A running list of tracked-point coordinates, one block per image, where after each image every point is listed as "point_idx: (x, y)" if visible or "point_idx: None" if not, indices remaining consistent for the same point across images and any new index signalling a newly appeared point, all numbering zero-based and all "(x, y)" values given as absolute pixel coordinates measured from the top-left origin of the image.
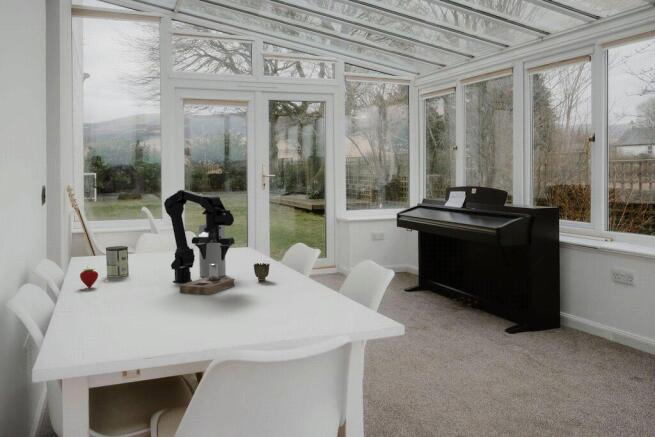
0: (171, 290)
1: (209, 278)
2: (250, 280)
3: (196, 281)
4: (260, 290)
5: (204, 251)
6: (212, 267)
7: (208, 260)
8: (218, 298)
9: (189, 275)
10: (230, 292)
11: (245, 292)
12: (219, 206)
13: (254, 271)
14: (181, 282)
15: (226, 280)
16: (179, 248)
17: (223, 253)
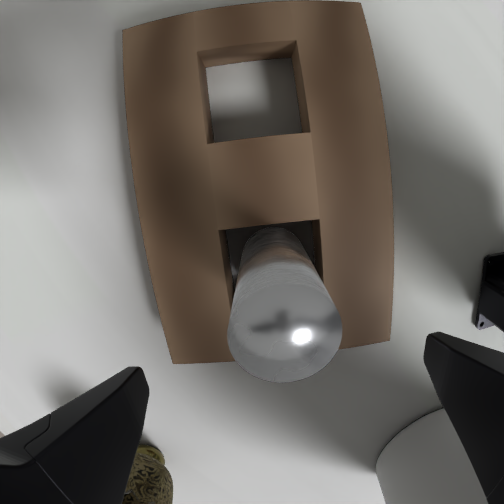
0: (429, 58)
1: (293, 244)
2: (200, 451)
3: (358, 159)
4: (4, 280)
5: (485, 422)
6: (259, 279)
7: (460, 473)
8: (53, 32)
9: (495, 312)
10: (69, 164)
11: (18, 208)
12: None
13: (158, 478)
14: (497, 253)
15: (170, 294)
16: None
17: (50, 418)
